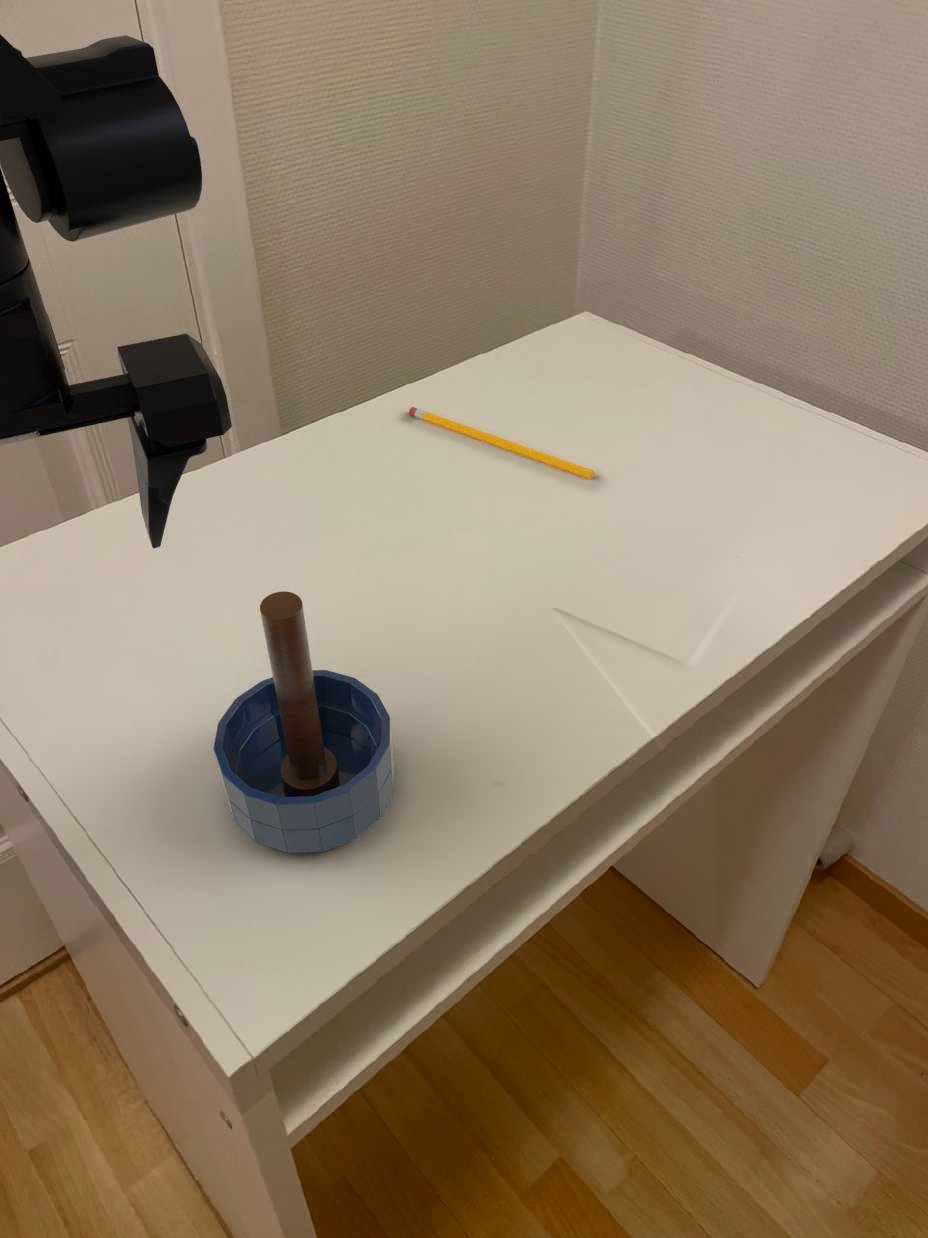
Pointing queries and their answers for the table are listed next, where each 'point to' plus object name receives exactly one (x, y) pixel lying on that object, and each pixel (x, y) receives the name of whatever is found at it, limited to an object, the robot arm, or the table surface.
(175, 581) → the table surface
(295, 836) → the bowl
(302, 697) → the muddler
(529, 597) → the table surface
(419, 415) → the pencil
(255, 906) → the table surface
